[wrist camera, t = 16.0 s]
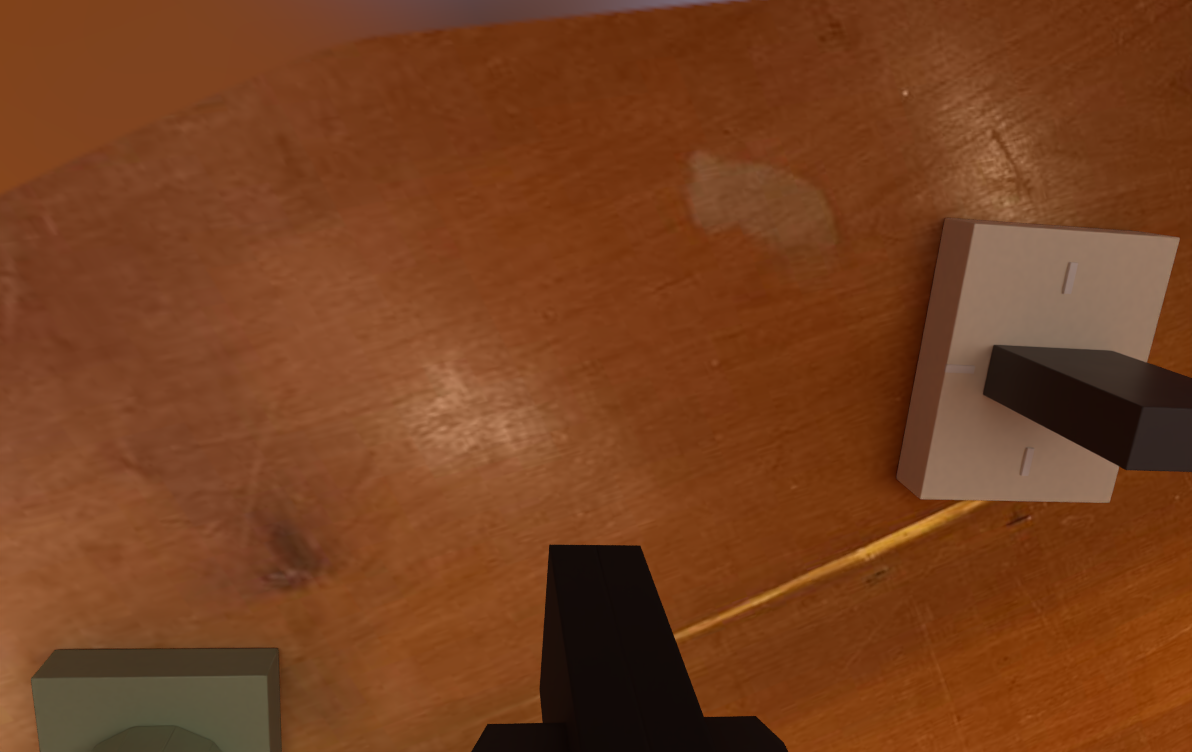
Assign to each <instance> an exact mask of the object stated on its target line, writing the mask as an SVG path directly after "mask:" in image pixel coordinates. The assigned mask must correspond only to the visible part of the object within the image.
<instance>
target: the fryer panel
mask: <svg viewBox="0 0 1192 752" xmlns="http://www.w3.org/2000/svg"><path fill="white" fill-rule="evenodd" d="M1179 239H1180V238H1178V237H1173V236H1166V235H1159V234H1152V233H1146V232H1139V231H1125V230H1111V229H1097V228H1083V227H1069V226H1055V225H1041V224H1027V223H1012V222H998V221H984V220H970V219H956V218H945V221H944V226H943V231H942V237H941V242H940V247H939V253H938V258H937V263H936V269H935V274H934V279H933V285H932V290H931V295H930V301H929V306H928V311H927V316H926V322H925V327H924V332H923V338H922V343H921V348H920V354H919V359H918V364H917V370H916V375H915V380H914V385H913V391H912V396H911V401H910V407H909V412H908V417H907V423H906V428H905V433H904V439H903V444H902V449H901V455H900V460H899V465H898V470H897V476H896V479H897V480H898V481H899V482H901V483H902V484H903V485H904V486H905V487H907V488H908V489H909V490H910V491H911V492H912V493H914V494H915V495H916V496H917V497H918V498H920V499H939V500H991V501H1043V502H1095V503H1109V502H1110V499H1111V495H1112V491H1113V488H1114V484H1115V480H1116V476H1117V473H1118V469H1119V466H1118V465H1116V464H1114V463H1112V462H1110V461H1108V460H1106V459H1104V458H1102V457H1100V456H1099V455H1097V454H1095V453H1093V452H1091V451H1089V450H1087V449H1085V448H1083V447H1081V446H1079V445H1078V444H1076V443H1074V442H1072V441H1070V440H1068V439H1066V438H1064V437H1062V436H1060V435H1059V434H1057V433H1055V432H1053V431H1051V430H1049V429H1047V428H1045V427H1043V426H1041V425H1040V424H1038V423H1036V422H1034V421H1032V420H1030V419H1028V418H1026V417H1024V416H1022V415H1021V414H1019V413H1017V412H1015V411H1013V410H1011V409H1009V408H1007V407H1005V406H1003V405H1002V404H1000V403H998V402H996V401H994V400H992V399H990V398H988V397H986V396H984V395H983V392H984V387H985V382H986V378H987V373H988V368H989V364H990V359H991V354H992V350H993V346H994V345H1011V346H1031V347H1050V348H1070V349H1090V350H1110V351H1115V352H1118V353H1121V354H1123V355H1126V356H1129V357H1132V358H1135V359H1138V360H1141V361H1144V362H1147V360H1148V356H1149V352H1150V348H1151V345H1152V341H1153V337H1154V333H1155V330H1156V326H1157V322H1158V318H1159V315H1160V311H1161V307H1162V303H1163V300H1164V296H1165V292H1166V288H1167V284H1168V281H1169V277H1170V273H1171V269H1172V266H1173V262H1174V258H1175V254H1176V251H1177V247H1178V243H1179Z"/></svg>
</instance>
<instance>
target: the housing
mask: <svg viewBox="0 0 1192 752" xmlns="http://www.w3.org/2000/svg"><path fill="white" fill-rule="evenodd" d="M31 684H32V692H33V700H34V708H35V716H36V724H37V731H38V739H39V747H40V752H282V750H281V719H280V687H279V655H278V648H239V649H99V650H55V651H54V652H53V653H52V654H51V655H50V657H49V658H48V659H47V660H46V661H45V663H44V664H43V665H42V666H41V667H40V669H39V670H38V671H37V672H36V673H35V674H34V676H33V677H32V678H31Z"/></svg>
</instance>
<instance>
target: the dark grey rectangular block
mask: <svg viewBox="0 0 1192 752" xmlns="http://www.w3.org/2000/svg"><path fill="white" fill-rule="evenodd" d="M983 395H984V396H986V397H988V398H990V399H992V400H994V401H996V402H998V403H1000V404H1002V405H1003V406H1005V407H1007V408H1009V409H1011V410H1013V411H1015V412H1017V413H1019V414H1021V415H1022V416H1024V417H1026V418H1028V419H1030V420H1032V421H1034V422H1036V423H1038V424H1040V425H1041V426H1043V427H1045V428H1047V429H1049V430H1051V431H1053V432H1055V433H1057V434H1059V435H1060V436H1062V437H1064V438H1066V439H1068V440H1070V441H1072V442H1074V443H1076V444H1078V445H1079V446H1081V447H1083V448H1085V449H1087V450H1089V451H1091V452H1093V453H1095V454H1097V455H1099V456H1100V457H1102V458H1104V459H1106V460H1108V461H1110V462H1112V463H1114V464H1116V465H1118V466H1119V467H1121V468H1123V469H1125V470H1144V471H1180V472H1192V378H1190V377H1187V376H1184V375H1181V374H1178V373H1175V372H1173V371H1170V370H1167V369H1164V368H1161V367H1158V366H1155V365H1152V364H1149V363H1147V362H1144V361H1141V360H1138V359H1135V358H1132V357H1129V356H1126V355H1123V354H1121V353H1118V352H1115V351H1110V350H1090V349H1070V348H1050V347H1031V346H1011V345H994V346H993V350H992V354H991V359H990V364H989V368H988V373H987V378H986V382H985V387H984V392H983Z"/></svg>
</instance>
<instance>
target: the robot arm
mask: <svg viewBox="0 0 1192 752" xmlns="http://www.w3.org/2000/svg"><path fill="white" fill-rule="evenodd" d="M540 698H541V709H542V719H543V723H522V724H487V726H486V728H485V729H484V731H483V733H482V735H481V736H480V738H479V740H478V741H477V743H476V745H475V746H474V748H473V750H472V752H788V750H787V748H786V746H785V744H784V743H783V742H782V741H781V740H780V739H779V738H778V737H777V736H776V735H775V734H774V733H773V732H772V731H771V730H770V729H769V728H768V727H767V726H766V725H765V724H763V723H762V722H761V721H760V720H759V719H758V718H757V717H756V716H737V717H704V716H703V713H702V711H701V708H700V705H699V703H698V700H697V697H696V695H695V692H694V689H693V686H692V684H691V681H690V678H689V676H688V673H687V670H686V668H685V665H684V662H683V660H682V657H681V654H680V651H679V649H678V646H677V643H676V641H675V638H674V635H673V633H672V630H671V627H670V625H669V622H668V619H667V616H666V614H665V611H664V608H663V606H662V603H661V600H660V598H659V595H658V592H657V590H656V587H655V584H654V581H653V579H652V576H651V573H650V571H649V568H648V565H647V563H646V560H645V557H644V554H643V552H642V549H641V546H627V545H549V558H548V573H547V588H546V603H545V618H544V632H543V647H542V662H541V677H540Z"/></svg>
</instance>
